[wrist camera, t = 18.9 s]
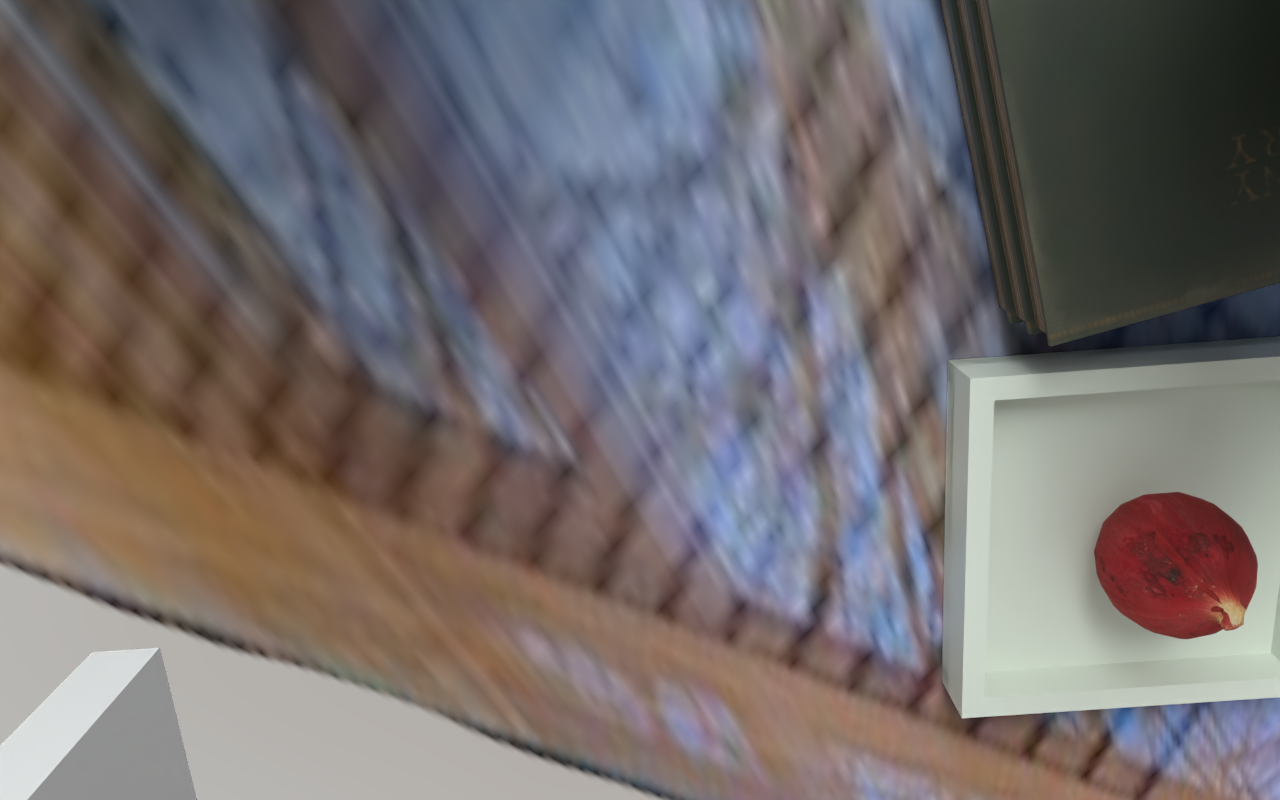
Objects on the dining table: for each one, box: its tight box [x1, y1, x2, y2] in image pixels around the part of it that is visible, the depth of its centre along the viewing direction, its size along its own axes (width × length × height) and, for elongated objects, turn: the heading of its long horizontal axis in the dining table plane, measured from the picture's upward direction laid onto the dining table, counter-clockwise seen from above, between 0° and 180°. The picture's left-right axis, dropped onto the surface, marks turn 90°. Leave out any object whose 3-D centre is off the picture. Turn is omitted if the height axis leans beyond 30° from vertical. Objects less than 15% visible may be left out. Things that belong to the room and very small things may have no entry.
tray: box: [942, 336, 1280, 718], centre depth 43 cm, size 16×16×3 cm
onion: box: [1094, 492, 1258, 639], centre depth 40 cm, size 6×6×8 cm
